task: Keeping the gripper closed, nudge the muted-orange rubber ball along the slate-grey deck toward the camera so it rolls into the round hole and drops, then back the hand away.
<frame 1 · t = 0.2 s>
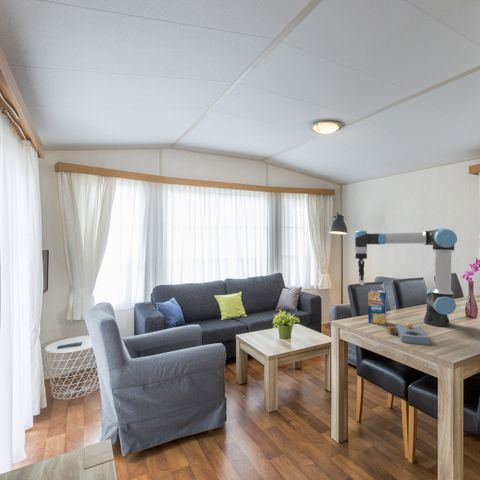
hand: (361, 283, 210), 28 cm above the table, fingers open, 13 cm apart
deck: (411, 337, 181), on the table
walnut block: (391, 333, 188), on the table
blue food box: (377, 322, 212), on the table
ball: (409, 325, 186), point 5 cm above the table, touching deck
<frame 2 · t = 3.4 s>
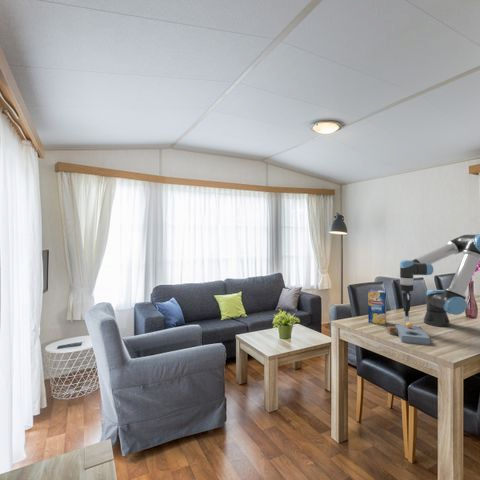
hand: (406, 320, 194), 6 cm above the table, fingers closed
nothing on the table moved.
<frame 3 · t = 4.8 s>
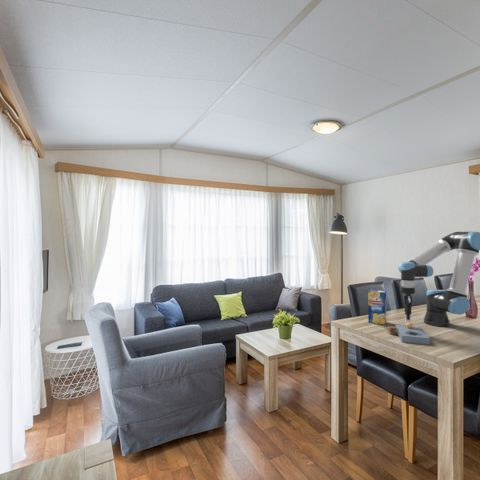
hand: (407, 324, 189), 5 cm above the table, fingers closed
nothing on the table moved.
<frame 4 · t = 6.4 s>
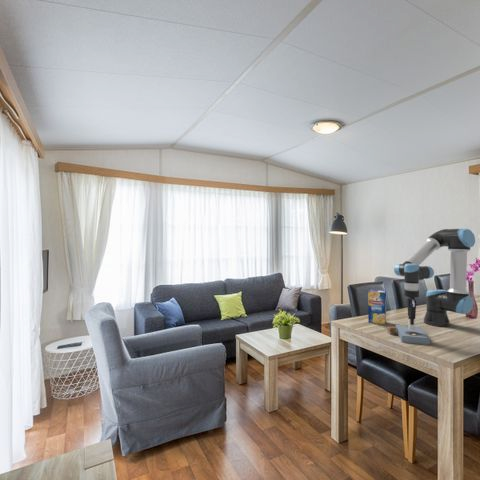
hand: (411, 329, 179), 5 cm above the table, fingers closed
ball: (414, 336, 176), point 2 cm above the table, tilted 56°
everything else where it was.
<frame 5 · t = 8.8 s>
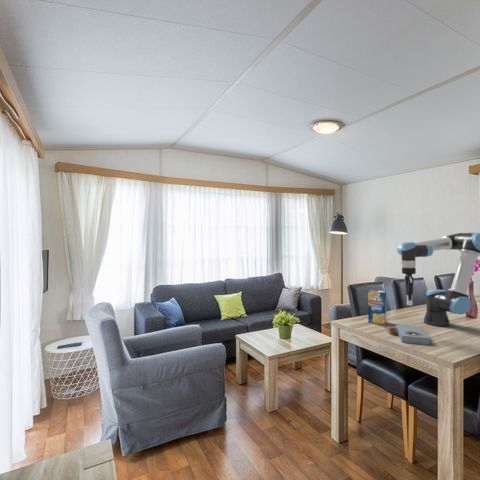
hand: (409, 305, 188), 18 cm above the table, fingers closed
ball: (413, 336, 176), point 2 cm above the table, tilted 48°
everything else where it was.
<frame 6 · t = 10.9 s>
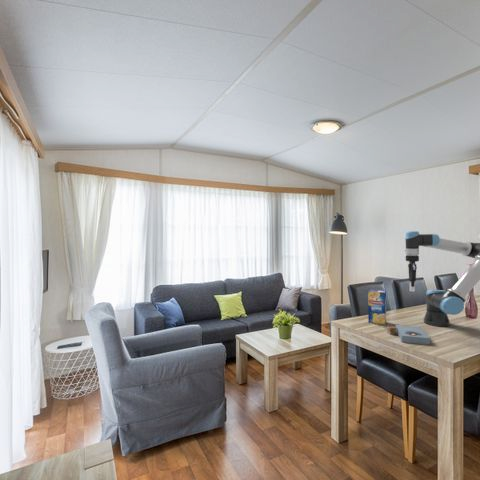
hand: (412, 291, 196), 24 cm above the table, fingers closed
ball: (413, 336, 176), point 2 cm above the table, tilted 42°
everything else where it was.
at the end: ball 0.3 cm from the target spot in the deck, point 1.7 cm above the deck's base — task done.
